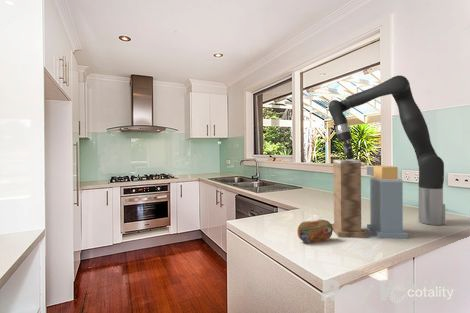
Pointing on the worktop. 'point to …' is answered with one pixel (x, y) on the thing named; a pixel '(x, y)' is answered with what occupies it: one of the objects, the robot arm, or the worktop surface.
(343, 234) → the post
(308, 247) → the worktop surface
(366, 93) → the robot arm
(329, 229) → the tin
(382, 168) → the block
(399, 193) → the grey block stand
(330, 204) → the worktop surface
